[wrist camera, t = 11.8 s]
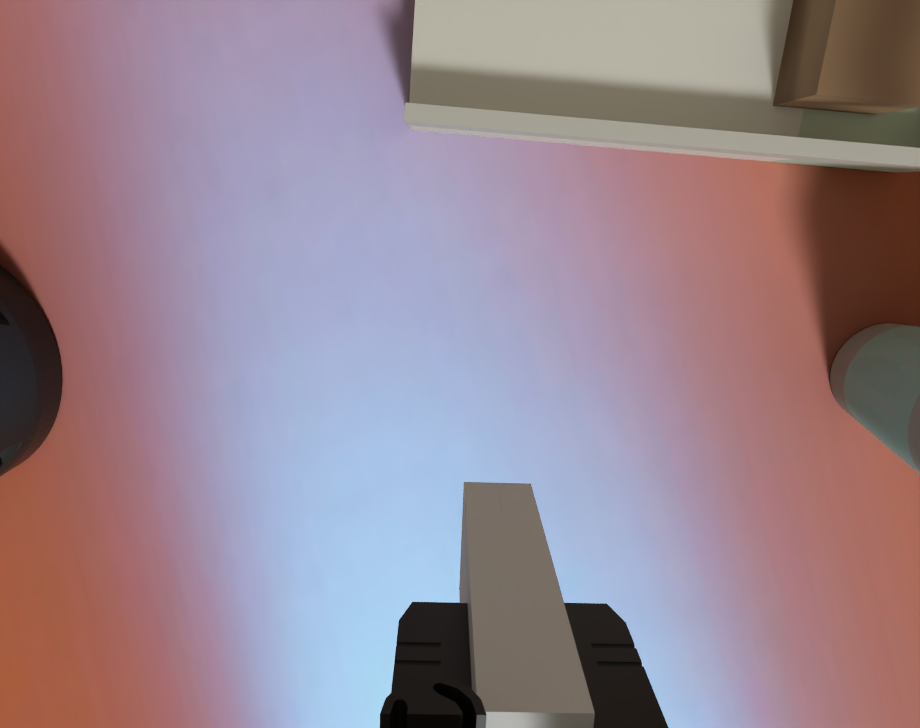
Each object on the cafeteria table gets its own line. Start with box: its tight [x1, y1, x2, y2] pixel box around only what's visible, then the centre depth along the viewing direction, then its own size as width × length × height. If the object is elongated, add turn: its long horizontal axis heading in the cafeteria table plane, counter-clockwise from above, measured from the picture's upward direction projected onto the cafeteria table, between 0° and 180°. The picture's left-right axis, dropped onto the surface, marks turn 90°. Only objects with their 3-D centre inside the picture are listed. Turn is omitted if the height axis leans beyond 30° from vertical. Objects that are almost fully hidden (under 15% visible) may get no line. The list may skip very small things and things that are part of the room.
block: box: [773, 0, 920, 115], centre depth 29 cm, size 5×5×4 cm
